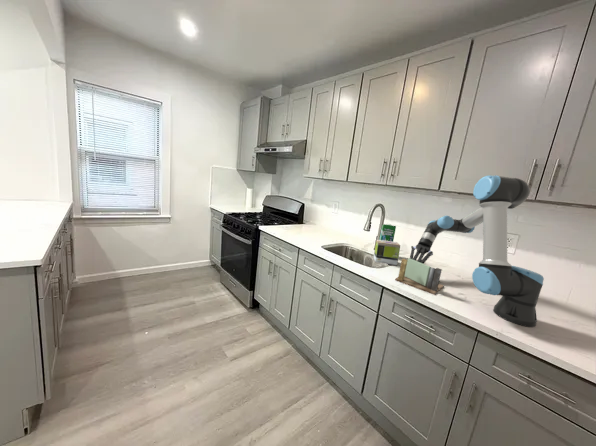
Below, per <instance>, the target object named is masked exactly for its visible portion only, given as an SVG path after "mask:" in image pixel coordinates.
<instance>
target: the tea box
mask: <svg viewBox="0 0 596 446" xmlns="http://www.w3.org/2000/svg"><path fill="white" fill-rule="evenodd" d="M374 246H375V247H374V253H373V260H374V262H375V263H380V264H387V265H393V266H398V262H399V256H400V249H401V245H400V243H399V242H397V241H393V242H391V241H384V240H379V239H376V241H375V245H374Z"/></svg>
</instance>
